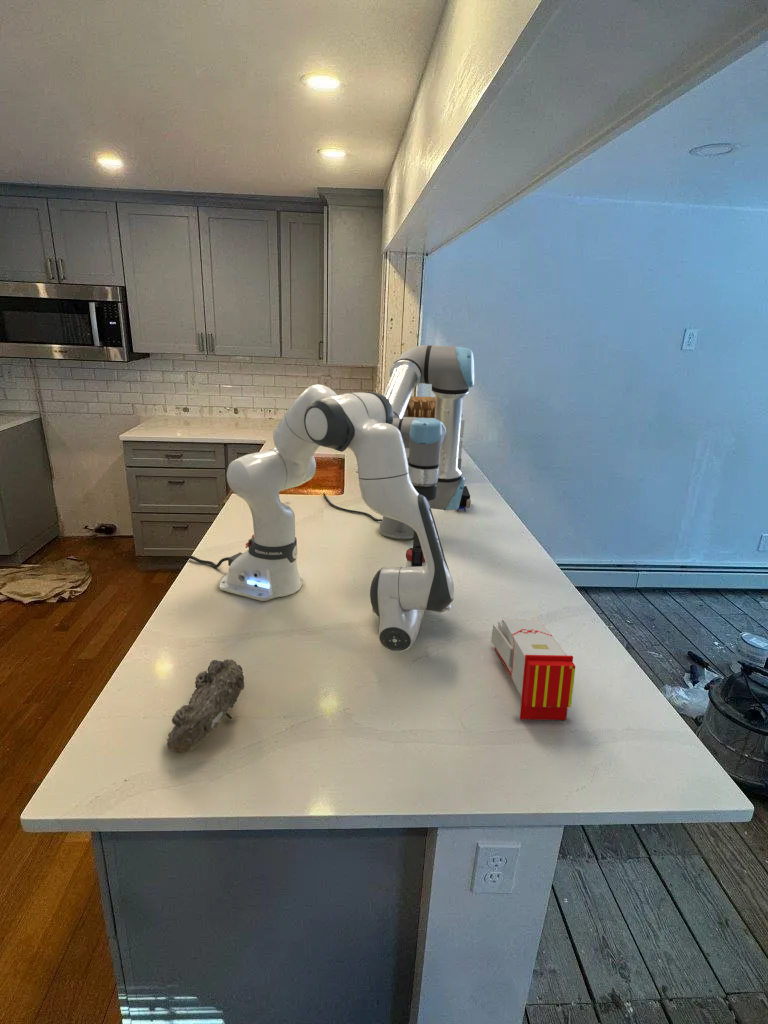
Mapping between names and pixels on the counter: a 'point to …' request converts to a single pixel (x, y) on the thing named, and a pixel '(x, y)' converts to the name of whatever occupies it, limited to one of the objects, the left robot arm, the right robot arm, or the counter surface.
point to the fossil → (206, 705)
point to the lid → (409, 555)
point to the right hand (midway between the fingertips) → (416, 565)
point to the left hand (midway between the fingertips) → (415, 581)
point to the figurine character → (465, 499)
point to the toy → (535, 667)
